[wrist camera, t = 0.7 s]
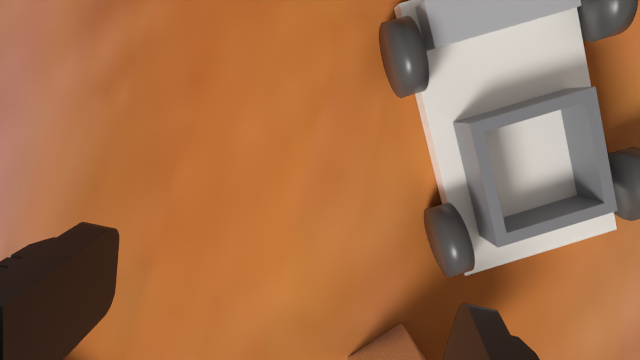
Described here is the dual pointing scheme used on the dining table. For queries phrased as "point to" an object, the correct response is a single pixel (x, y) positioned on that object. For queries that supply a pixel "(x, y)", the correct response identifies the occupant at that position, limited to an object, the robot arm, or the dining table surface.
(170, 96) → the dining table surface
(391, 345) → the grey-topped square pillar
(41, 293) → the robot arm
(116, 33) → the dining table surface
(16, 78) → the dining table surface
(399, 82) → the car chassis
